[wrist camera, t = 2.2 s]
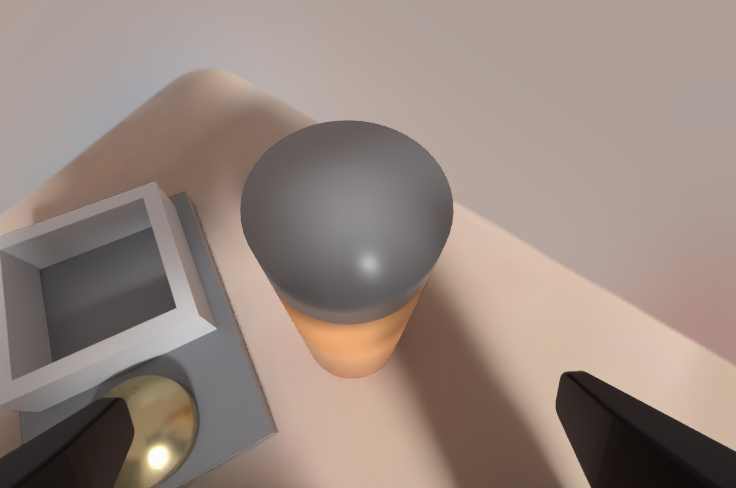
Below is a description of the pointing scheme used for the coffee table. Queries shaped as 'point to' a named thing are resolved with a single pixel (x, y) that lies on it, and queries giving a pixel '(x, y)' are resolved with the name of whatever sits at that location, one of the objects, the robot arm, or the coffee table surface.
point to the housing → (129, 334)
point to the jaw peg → (347, 236)
